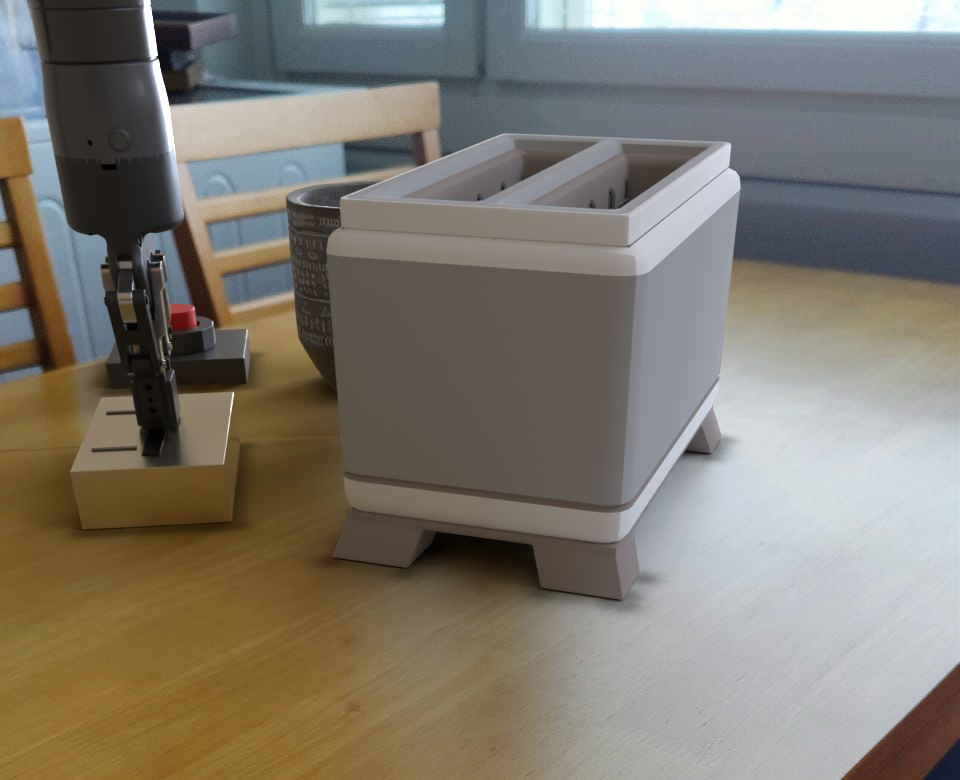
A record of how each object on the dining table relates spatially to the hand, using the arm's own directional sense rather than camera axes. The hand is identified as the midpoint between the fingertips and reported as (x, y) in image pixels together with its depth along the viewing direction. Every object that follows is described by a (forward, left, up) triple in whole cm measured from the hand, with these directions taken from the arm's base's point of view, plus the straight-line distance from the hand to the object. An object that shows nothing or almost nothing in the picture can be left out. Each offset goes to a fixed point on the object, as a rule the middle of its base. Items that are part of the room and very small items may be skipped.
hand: (159, 418), depth 87 cm
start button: (-1, +28, -1) cm, 28 cm away
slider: (0, 0, 0) cm, 0 cm away
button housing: (-1, +27, -4) cm, 28 cm away
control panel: (0, -2, -4) cm, 4 cm away
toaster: (+28, -6, -4) cm, 29 cm away
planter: (+17, +21, -4) cm, 28 cm away
